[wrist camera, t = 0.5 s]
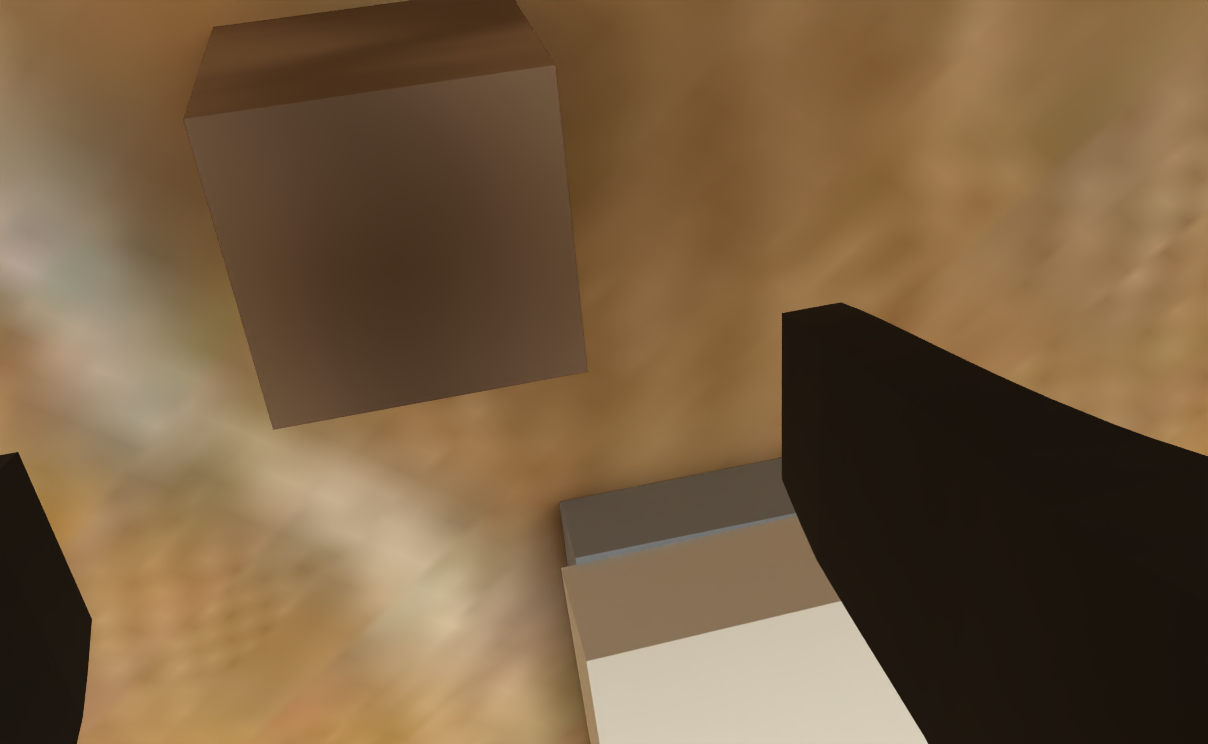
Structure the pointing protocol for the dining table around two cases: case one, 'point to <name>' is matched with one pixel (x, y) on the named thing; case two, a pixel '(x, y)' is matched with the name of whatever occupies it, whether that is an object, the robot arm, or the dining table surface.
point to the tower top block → (726, 647)
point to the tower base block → (673, 511)
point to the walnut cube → (390, 203)
